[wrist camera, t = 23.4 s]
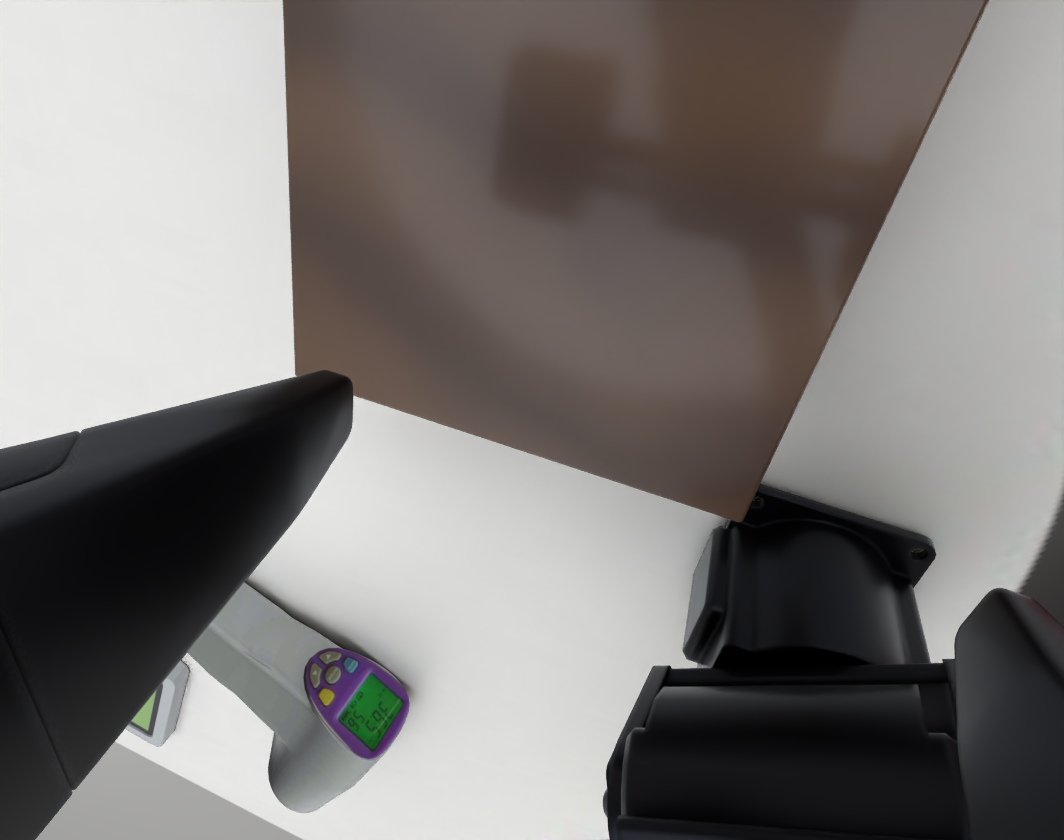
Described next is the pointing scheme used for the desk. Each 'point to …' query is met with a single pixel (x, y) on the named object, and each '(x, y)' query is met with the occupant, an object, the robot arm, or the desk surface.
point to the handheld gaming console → (161, 709)
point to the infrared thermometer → (303, 698)
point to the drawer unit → (600, 212)
